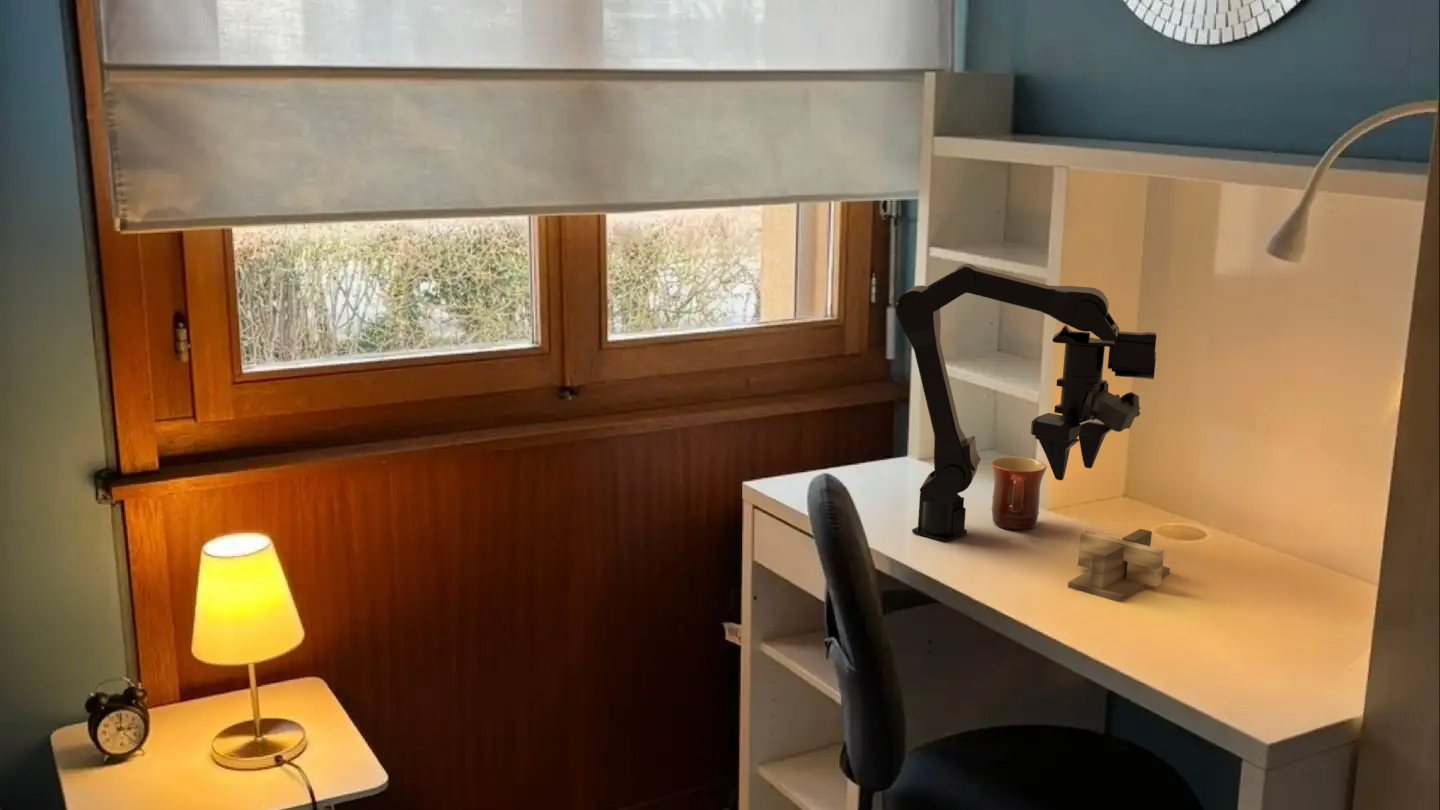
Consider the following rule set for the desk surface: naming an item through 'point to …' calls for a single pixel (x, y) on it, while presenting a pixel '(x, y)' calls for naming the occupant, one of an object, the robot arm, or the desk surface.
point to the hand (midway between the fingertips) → (1074, 473)
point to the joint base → (1113, 571)
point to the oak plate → (1125, 557)
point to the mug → (1016, 492)
